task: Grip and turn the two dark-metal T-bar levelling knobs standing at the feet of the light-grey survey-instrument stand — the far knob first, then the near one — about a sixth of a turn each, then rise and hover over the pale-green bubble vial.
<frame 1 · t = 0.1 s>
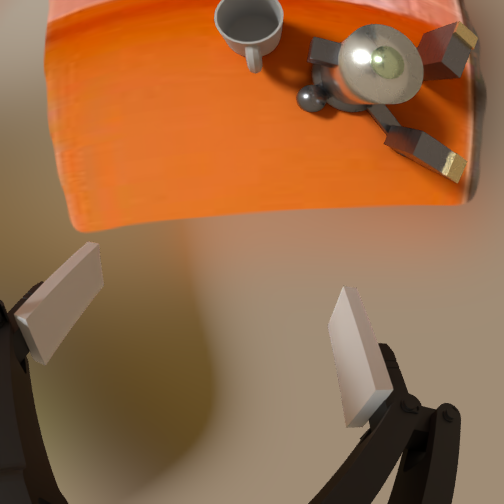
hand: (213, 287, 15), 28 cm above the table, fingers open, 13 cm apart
instrument stand: (347, 77, 32), on the table
cup: (254, 44, 31), on the table
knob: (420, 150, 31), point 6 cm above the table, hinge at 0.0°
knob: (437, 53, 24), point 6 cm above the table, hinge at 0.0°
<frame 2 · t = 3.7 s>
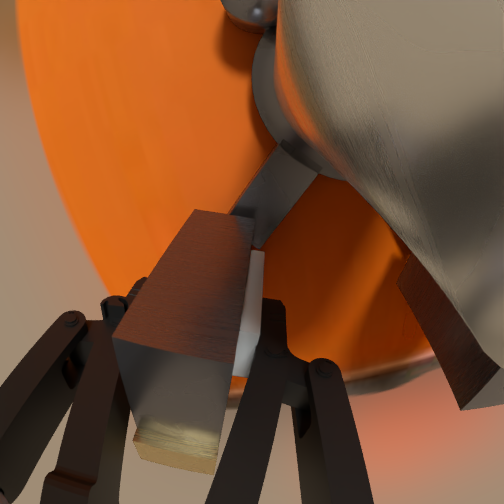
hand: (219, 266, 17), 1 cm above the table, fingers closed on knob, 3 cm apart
instrument stand: (350, 85, 13), on the table
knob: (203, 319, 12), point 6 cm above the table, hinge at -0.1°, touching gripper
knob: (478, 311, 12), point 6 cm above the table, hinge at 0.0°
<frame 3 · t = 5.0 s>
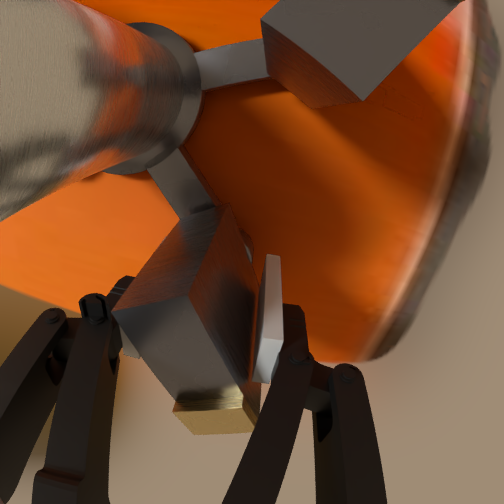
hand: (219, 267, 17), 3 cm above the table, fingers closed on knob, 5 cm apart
instrument stand: (130, 97, 15), on the table
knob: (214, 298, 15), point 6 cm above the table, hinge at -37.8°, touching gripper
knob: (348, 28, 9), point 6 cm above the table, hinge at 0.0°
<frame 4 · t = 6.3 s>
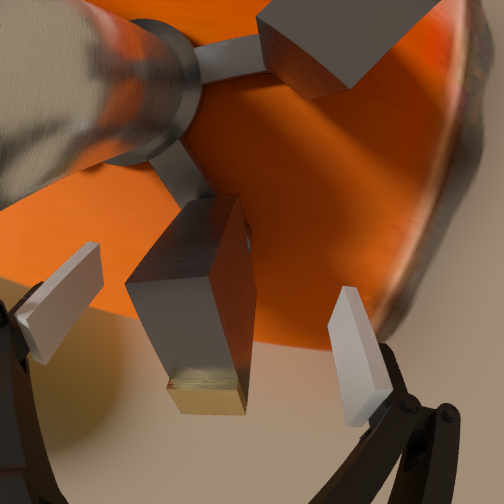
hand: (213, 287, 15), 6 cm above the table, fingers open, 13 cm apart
instrument stand: (132, 90, 16), on the table
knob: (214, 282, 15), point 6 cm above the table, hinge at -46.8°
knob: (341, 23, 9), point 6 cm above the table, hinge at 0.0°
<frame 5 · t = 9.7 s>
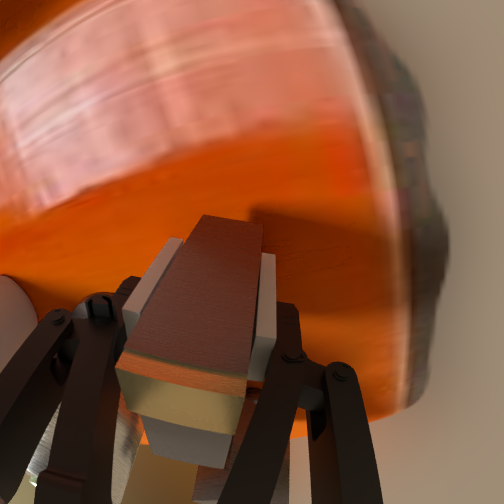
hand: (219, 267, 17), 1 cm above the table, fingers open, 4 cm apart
instrument stand: (125, 341, 22), on the table
cup: (23, 313, 23), on the table
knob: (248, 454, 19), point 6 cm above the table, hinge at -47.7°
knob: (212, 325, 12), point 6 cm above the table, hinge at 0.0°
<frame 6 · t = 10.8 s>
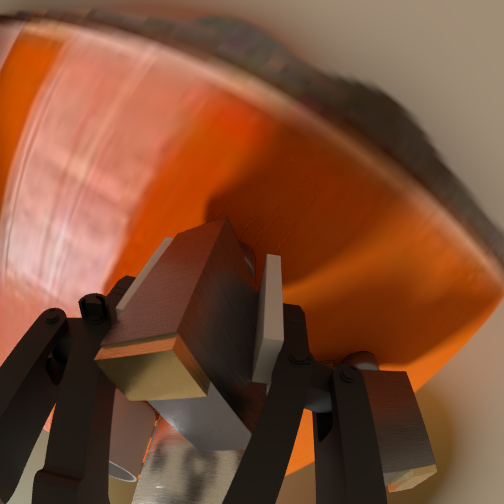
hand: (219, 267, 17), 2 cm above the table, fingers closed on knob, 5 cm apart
instrument stand: (219, 380, 24), on the table
cup: (139, 409, 29), on the table
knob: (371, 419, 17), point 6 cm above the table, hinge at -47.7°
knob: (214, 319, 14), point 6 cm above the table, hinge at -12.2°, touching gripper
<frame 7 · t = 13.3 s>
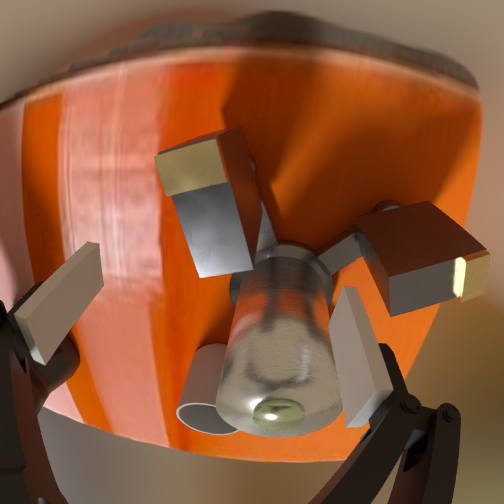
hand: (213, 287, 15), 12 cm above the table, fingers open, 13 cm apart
instrument stand: (281, 286, 29), on the table
cup: (233, 361, 35), on the table
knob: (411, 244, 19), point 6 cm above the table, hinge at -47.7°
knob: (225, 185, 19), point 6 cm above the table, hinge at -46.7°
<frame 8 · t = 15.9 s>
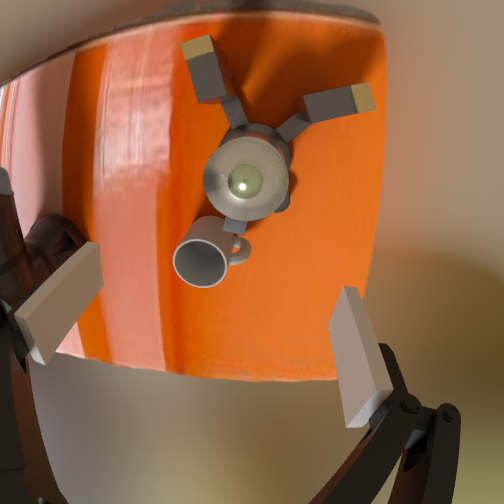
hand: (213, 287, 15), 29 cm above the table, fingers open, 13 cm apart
instrument stand: (253, 157, 39), on the table
cup: (220, 235, 45), on the table
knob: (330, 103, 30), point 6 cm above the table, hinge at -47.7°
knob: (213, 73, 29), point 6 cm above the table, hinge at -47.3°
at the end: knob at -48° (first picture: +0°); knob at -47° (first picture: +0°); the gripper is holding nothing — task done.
